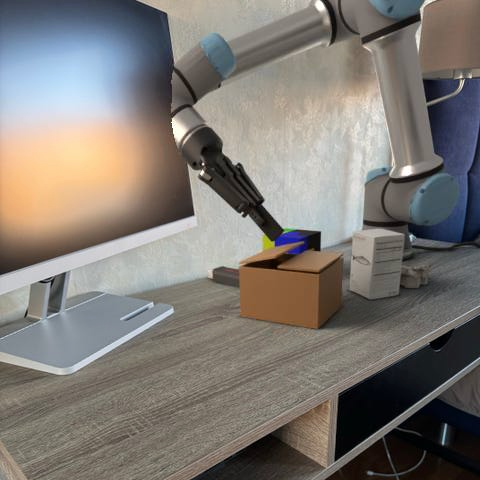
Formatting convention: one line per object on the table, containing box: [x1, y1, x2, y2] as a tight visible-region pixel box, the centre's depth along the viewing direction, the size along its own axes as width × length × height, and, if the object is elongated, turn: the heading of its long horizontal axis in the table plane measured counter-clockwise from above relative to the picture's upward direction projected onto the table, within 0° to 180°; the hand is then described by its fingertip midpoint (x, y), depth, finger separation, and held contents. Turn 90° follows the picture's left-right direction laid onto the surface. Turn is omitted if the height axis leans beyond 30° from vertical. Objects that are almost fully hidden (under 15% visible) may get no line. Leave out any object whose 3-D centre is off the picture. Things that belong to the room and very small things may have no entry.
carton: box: [238, 251, 345, 330], centre depth 82 cm, size 15×13×10 cm
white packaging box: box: [349, 229, 405, 301], centre depth 90 cm, size 7×7×13 cm
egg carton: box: [399, 264, 432, 289], centre depth 98 cm, size 11×8×4 cm
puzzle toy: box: [262, 227, 322, 254], centre depth 106 cm, size 10×10×10 cm
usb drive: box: [206, 265, 240, 288], centre depth 104 cm, size 5×12×3 cm, turn 48°
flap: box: [238, 241, 304, 265], centre depth 82 cm, size 7×13×1 cm, turn 152°
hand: (278, 236), depth 80 cm, fingers closed
